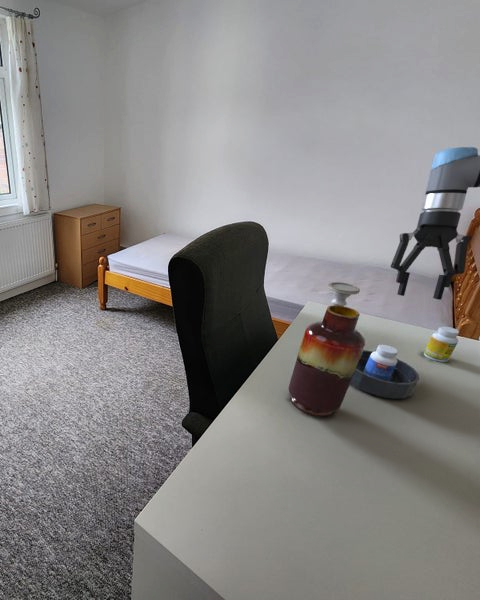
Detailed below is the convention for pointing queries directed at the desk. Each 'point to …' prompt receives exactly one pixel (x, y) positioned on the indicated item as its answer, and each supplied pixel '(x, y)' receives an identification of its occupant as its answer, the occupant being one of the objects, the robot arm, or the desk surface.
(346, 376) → the vase
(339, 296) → the candle holder
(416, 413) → the desk surface
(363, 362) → the pan
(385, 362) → the pill bottle
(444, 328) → the supplement bottle
